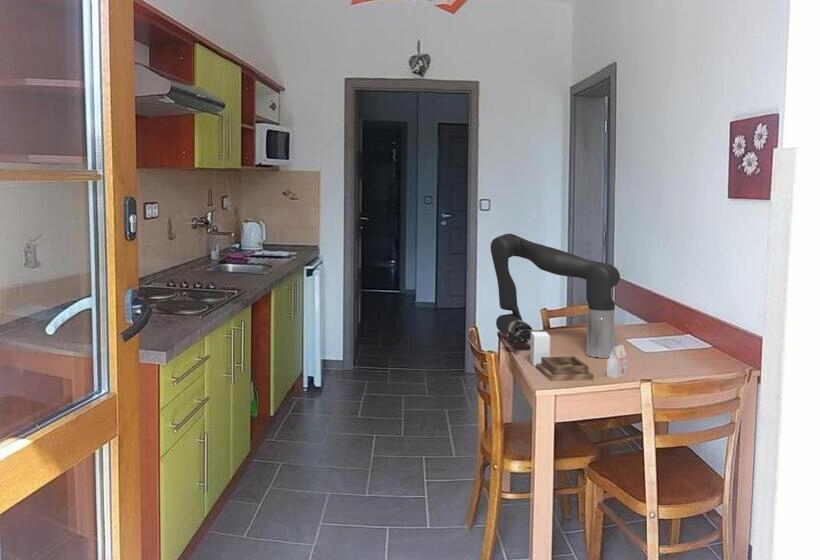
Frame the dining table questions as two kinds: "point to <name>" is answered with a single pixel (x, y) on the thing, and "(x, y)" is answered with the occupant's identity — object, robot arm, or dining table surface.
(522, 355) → the dining table surface
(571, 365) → the walnut cradle
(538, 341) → the small box
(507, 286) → the robot arm
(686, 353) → the dining table surface
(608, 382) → the dining table surface
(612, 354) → the milk carton
